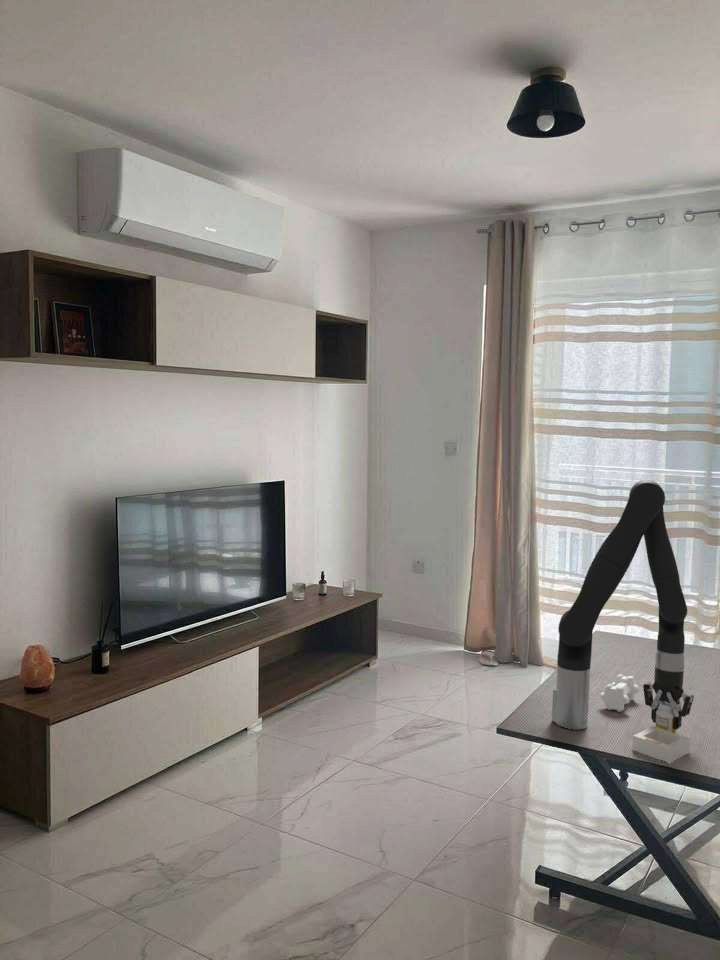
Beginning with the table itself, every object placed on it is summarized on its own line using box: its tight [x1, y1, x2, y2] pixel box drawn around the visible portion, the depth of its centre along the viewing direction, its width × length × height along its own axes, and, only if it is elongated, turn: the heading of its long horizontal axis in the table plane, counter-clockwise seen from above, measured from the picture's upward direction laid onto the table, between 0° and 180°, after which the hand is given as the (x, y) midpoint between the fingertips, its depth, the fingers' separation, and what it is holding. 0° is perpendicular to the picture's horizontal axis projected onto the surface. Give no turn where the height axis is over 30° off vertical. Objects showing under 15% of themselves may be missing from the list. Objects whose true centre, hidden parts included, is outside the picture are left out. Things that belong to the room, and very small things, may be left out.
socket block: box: [631, 725, 691, 763], centre depth 213 cm, size 11×11×4 cm
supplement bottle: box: [654, 701, 677, 734], centre depth 222 cm, size 5×5×10 cm
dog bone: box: [599, 673, 640, 713], centre depth 247 cm, size 15×9×8 cm, turn 146°
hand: (665, 725), depth 223 cm, fingers closed on supplement bottle, 5 cm apart
